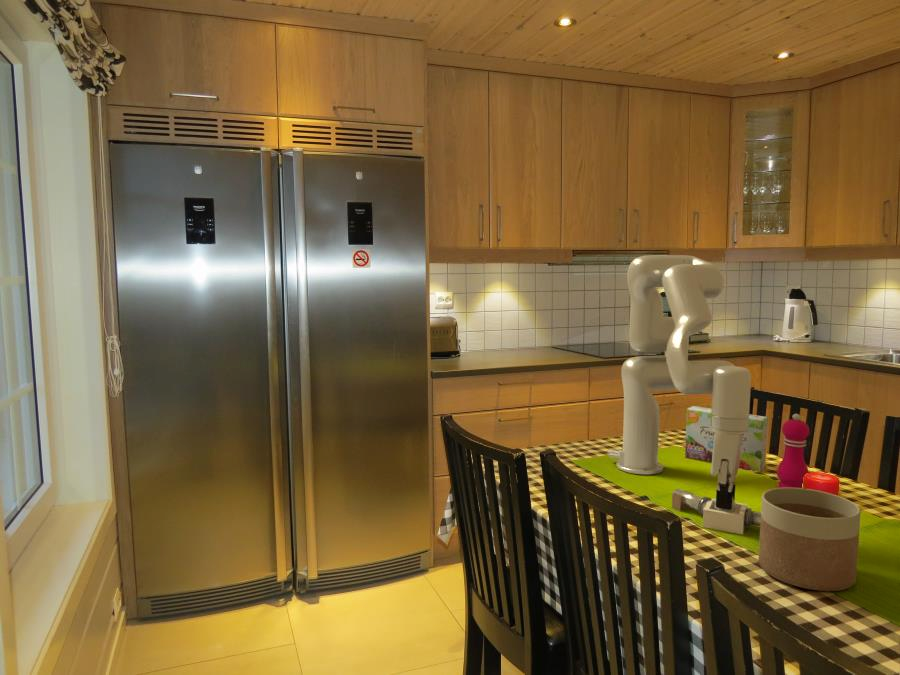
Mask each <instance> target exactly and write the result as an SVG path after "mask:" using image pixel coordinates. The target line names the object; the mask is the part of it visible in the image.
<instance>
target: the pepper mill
mask: <svg viewBox="0 0 900 675" xmlns="http://www.w3.org/2000/svg"><path fill="white" fill-rule="evenodd" d="M781 430H782V431H781V432H782V434H783V435H784V437H783V444H784V445H785V450H784V454H783V455H784V456H783V457H782V459H781V461H780V463H779V464H778V467H777V470H776V476H777V477H778V479H779V481H778V484H777V485H778V486H777V488H802V483H803V477H804V475H805V474H806V473H809V474H810V472H809V468H808V465H807V464H806V462H805V457H804V449H805V447H806V446H807V437H808V436H809V434H810V427H809V425H808V424H807V423H806V422H805V421H804V420H801V415H800V414H798V413H794V414H792V419H787V421H785V422H784V423H783V425H782V428H781Z"/></svg>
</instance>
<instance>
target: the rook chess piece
mask: <svg viewBox="0 0 900 675" xmlns="http://www.w3.org/2000/svg"><path fill="white" fill-rule="evenodd" d="M727 477H730V475H728V474H727ZM734 481H735V482H736V478H735V479H732V483H733V482H734ZM727 482H728V484H729V480H727ZM732 488H733V485H732ZM731 491H732V489H731ZM736 503H737V502H736ZM736 503H735V501H734V499H733V496H732V509H731V510H727V509H721V508H717V507H716V505H715V506H714V507H715V508H716V510H718V511H724V512H730V513H733V512H735V510H736V508H735V506H736ZM715 504H716V501H715Z"/></svg>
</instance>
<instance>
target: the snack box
mask: <svg viewBox="0 0 900 675" xmlns="http://www.w3.org/2000/svg"><path fill="white" fill-rule="evenodd" d="M711 410H712V407H710V408H709V407H703V406H697V405H692V406H690V407H688V408H686V421H685V422H686V427H685V428H686V429H685V446H684V447H685V448H684V452H685V453H684V458H685V459H686V458H687V459H693V460H698V461H701V460H702V462H706V461H707V462H708V463H711V462H712V454H713V443H714V435H715V431H713V430H711ZM768 421H769V418H768V417H767V416H762V415H755V414H751V413H749V425H748V433H745V434H742V443H741V456H740V464H739V469H740V468H742V469H741V470H745V469H747V470H746V471H750V470H752V471H751V472H755V471H757V472H756V473H761V472H762V471H763V470H765V469H766V461H767V460H766V459H767V443H768V440H767V439H768V425H769V424H768V423H769V422H768Z"/></svg>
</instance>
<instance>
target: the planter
mask: <svg viewBox="0 0 900 675" xmlns="http://www.w3.org/2000/svg"><path fill="white" fill-rule="evenodd" d="M760 512H761V526H760V528H759V529H760V531H759V544H758V545H759V548H758V565H759V566H760V568H761V569H762V570H763V571H764V572H765V573H767V574H768V575H769V576H771V577H773V578H774V579H776V580H779V581H781V582H783V583H785V584H788V585H791V586H794V587H798V588H802V589H806V590H811V591H818V592H819V591H820V592H821V591H823V592H834V591H835V592H836V591H843V590H846V589H849V588H851V587H853V585H855V583H856V581H857V568H858V554H859V539H860V528H861V527H860V525H861V515H862V514H861V513H862V512H861V508H860V507H859V506H858V505H857V504H856V503H855V502H854V501H851V500H850V499H848V498H845V497H842V496H841V495H837V494H833V493H831V492H825V491H822V490H817V489H812V488H806V489H804V488H778V487H776V488H771V489H768V490H766V491H764V492H763V493H762V496H761V511H760Z"/></svg>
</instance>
